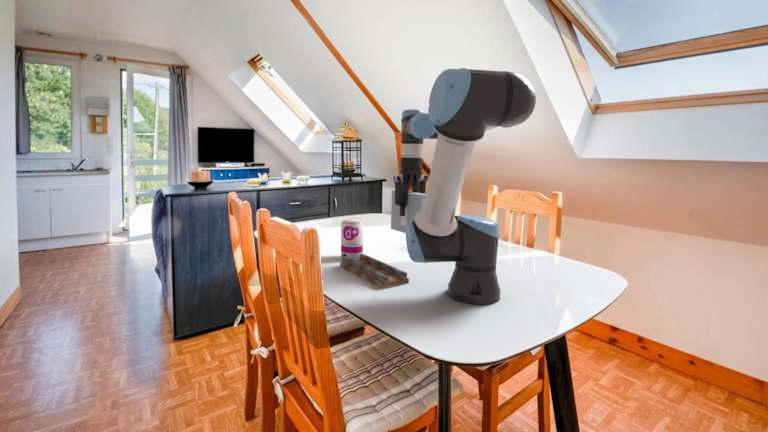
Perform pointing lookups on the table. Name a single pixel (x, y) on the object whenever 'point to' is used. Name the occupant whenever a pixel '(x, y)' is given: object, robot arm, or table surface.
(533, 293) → the table surface
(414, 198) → the sliding panel
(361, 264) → the floor track
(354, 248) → the supplement can
